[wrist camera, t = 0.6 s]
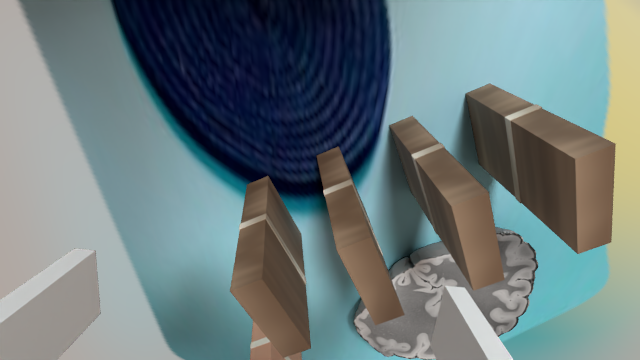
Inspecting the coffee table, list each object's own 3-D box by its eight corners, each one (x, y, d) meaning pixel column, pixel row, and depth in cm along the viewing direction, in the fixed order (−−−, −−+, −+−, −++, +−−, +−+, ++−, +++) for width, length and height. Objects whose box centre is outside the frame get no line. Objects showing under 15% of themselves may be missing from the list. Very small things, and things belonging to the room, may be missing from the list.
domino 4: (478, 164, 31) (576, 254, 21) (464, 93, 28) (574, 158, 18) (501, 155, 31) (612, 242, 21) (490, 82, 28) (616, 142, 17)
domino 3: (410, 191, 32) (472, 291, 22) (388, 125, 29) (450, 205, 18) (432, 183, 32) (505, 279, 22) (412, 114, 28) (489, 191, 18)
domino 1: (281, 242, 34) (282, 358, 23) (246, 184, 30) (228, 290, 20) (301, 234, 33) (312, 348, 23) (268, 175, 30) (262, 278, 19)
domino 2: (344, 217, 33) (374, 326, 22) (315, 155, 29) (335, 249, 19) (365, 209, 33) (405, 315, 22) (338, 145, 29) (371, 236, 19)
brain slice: (410, 359, 45) (418, 381, 43) (328, 294, 38) (332, 317, 35) (550, 280, 41) (568, 300, 38) (488, 188, 33) (505, 206, 31)
